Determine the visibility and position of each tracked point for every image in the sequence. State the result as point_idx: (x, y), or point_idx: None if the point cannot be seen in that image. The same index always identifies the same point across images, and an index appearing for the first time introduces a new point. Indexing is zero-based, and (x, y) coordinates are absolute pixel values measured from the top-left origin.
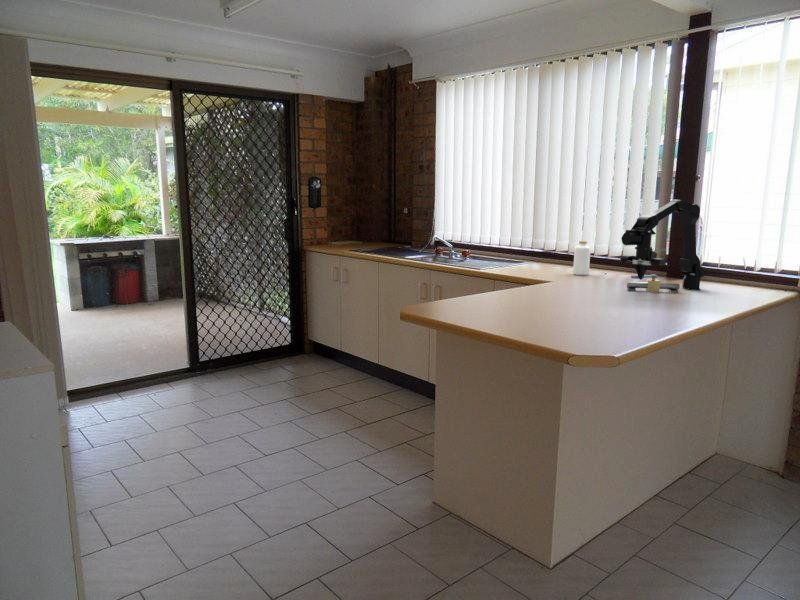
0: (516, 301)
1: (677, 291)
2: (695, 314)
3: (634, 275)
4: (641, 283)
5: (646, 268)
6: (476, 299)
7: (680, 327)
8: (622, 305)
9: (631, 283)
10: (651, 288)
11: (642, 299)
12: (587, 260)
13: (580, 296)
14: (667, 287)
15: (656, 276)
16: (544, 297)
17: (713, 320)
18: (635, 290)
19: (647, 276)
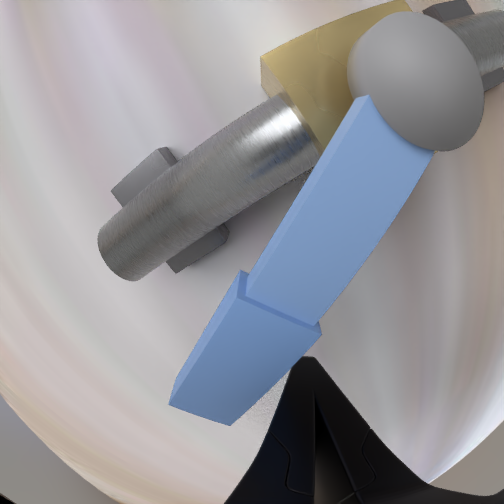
0: (145, 494)
1: (500, 81)
2: (488, 418)
3: (198, 393)
4: (251, 197)
5: (400, 491)
6: (108, 489)
7: (439, 472)
8: None
9: (159, 261)
10: None
11: (364, 409)
12: None
13: (160, 459)
14: None
15: (468, 110)
16: (132, 476)
17: (500, 422)
18: (226, 237)
19: (364, 251)
